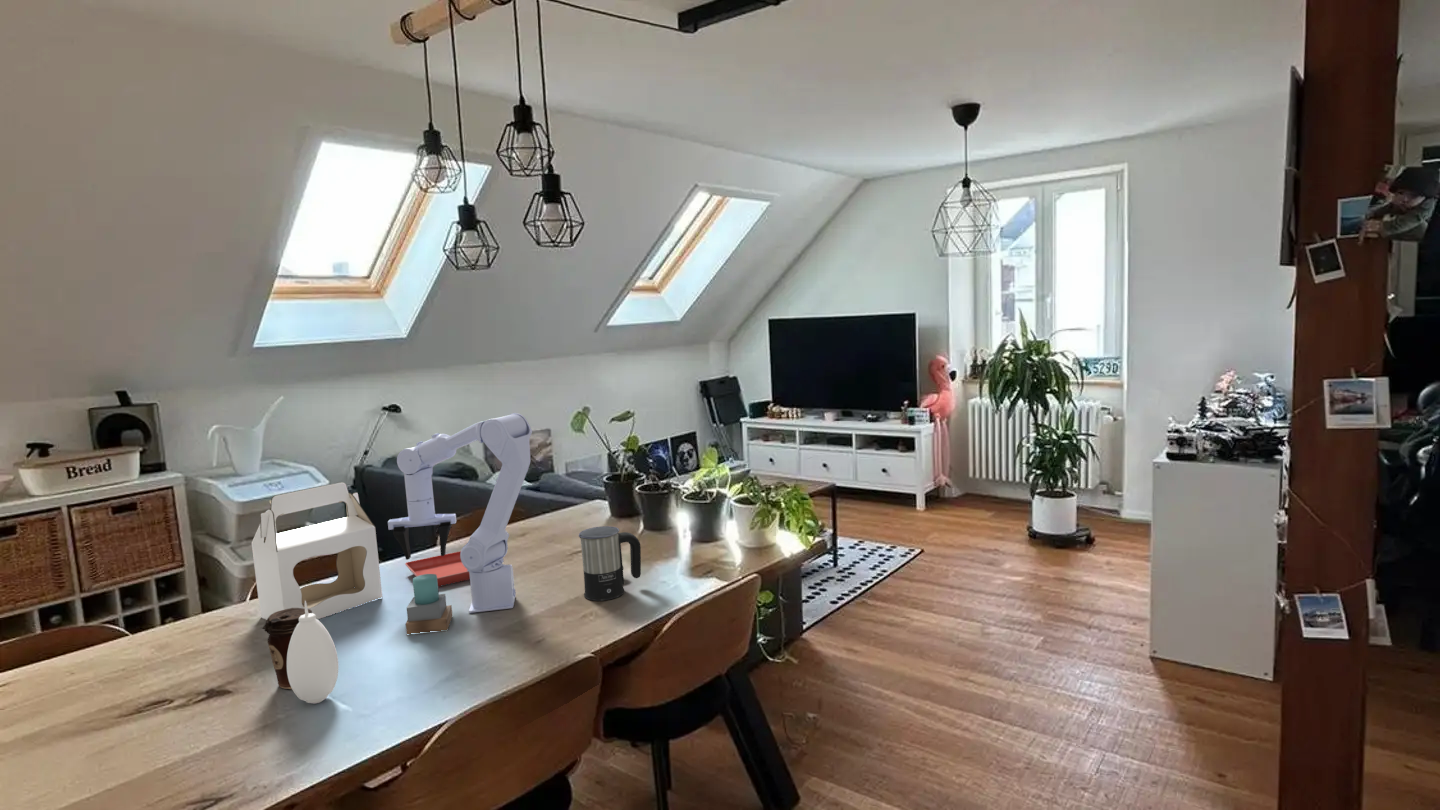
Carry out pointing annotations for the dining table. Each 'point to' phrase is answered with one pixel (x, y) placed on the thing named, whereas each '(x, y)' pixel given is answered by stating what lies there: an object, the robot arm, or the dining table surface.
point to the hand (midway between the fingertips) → (425, 556)
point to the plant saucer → (441, 568)
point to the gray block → (426, 610)
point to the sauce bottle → (311, 660)
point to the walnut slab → (430, 623)
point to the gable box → (316, 554)
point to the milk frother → (607, 561)
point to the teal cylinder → (425, 589)
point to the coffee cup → (282, 639)
